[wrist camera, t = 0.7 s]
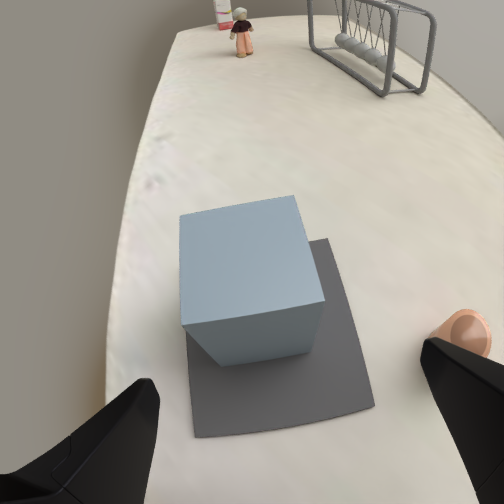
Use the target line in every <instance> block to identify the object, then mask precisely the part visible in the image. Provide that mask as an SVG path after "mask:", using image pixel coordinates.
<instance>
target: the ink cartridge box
mask: <svg viewBox="0 0 504 504" xmlns="http://www.w3.org/2000/svg"><path fill="white" fill-rule="evenodd" d="M213 1H214V7H215V13H216V19H217V25H218V27H219V29H220V30H224V29H231V28H233V26H234V25H233V19H232V12H231V6H230V0H213Z"/></svg>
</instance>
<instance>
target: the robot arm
mask: <svg viewBox="0 0 504 504" xmlns="http://www.w3.org/2000/svg"><path fill="white" fill-rule="evenodd" d="M420 362H421V366H422V368H423V371H424V373H425V376H426V379H427V381H428V384H429V387H430V389H431V392H432V395H433V397H434V400H435V402H436V404H437V406H438V408H439V410H440V412H441V414H442V416H443V418H444V420H445V422H446V425H447V427H448V429H449V431H450V433H451V435H452V437H453V440H454V442H455V444H456V446H457V449H458V451H459V453H460V455H461V458H462V460H463V462H464V465H465V467H466V470H467V472H468V475H469V477H470V480H471V482H472V485H473V487H474V490H475V492H476V496H477V498H478V501H479V504H504V365H502V364H499V363H497V362H495V361H492V360H490V359H487V358H485V357H483V356H480V355H478V354H476V353H473V352H471V351H469V350H466V349H464V348H462V347H459V346H457V345H455V344H452V343H450V342H448V341H445V340H443V339H441V338H438V337H431V338H427V339H426V340H425V341H424V343H423V348H422V353H421V358H420ZM159 408H160V397H159V394H158V392H157V390H156V387H155V385H154V383H153V381H152V380H151V379H150V378H140V379H138V380H137V381H135V382H134V383H133V384H132V385H131V386H129V387H128V388H127V389H126V390H124V391H123V392H122V393H121V394H120V395H118V396H117V397H116V398H115V399H114V400H112V401H111V402H110V403H109V404H107V405H106V406H105V407H104V408H103V409H101V410H100V411H99V412H98V413H96V414H95V415H94V416H93V417H92V418H90V419H89V420H88V421H86V422H85V423H84V424H83V425H81V426H80V427H79V428H78V429H76V430H75V431H74V432H73V433H71V435H70V436H68V437H66V438H65V439H64V440H63V441H61V442H60V443H59V444H57V445H56V446H55V447H53V448H52V449H50V450H49V451H47V452H46V453H45V454H43V455H41V456H40V457H38V458H37V459H35V460H33V461H32V462H30V463H29V464H27V465H26V466H24V467H22V468H20V469H19V470H17V471H15V472H12V473H9V474H0V504H144V498H145V493H146V488H147V483H148V478H149V473H150V468H151V463H152V458H153V453H154V448H155V444H156V438H157V428H158V417H159Z"/></svg>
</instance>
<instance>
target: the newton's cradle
mask: <svg viewBox="0 0 504 504" xmlns="http://www.w3.org/2000/svg"><path fill="white" fill-rule="evenodd" d="M335 1H336V0H335ZM354 1H355V0H354ZM356 1H359V2H361V3H366V6H367V4H369V5H372V7H373V6H375V7H378V8H379V9H380V8H381V9H384V12H385V10H386V11H388V12H389V14H390V17H391V22H390V23H391V24H390V36H389V46H388V55H386V52H385V55H384V56H382V55H381V53H380V52H379V51H378V50H377V49H376V46H375V48H373V46H372V48H371V49H370V47H369V46H368V45H367V44H365V40H364V42H362V41H361V43H360V42H359V41H358V40H357V39H355V38H354V37H355V33H354V37H351V38H350V37H349V36H348V35H347V20H348V23H349V19H348V15H349V12H348V13H347V0H342V30H341V33H340V34H338V35H337V36H336V37H335V43H336V44H337V46H339V47H331V48H318V49H317V48H316V47H315V45H314V35H313V8H312V0H307V6H308V27H309V44H310V47H311V49H312V50H313V51H314V52H316V53H317V54H319V55H321V56H322V57H324V58H326V59H327V60H329V61H330V62H332V63H333V64H335V65H337V66H338V67H340V68H341V69H343V70H344V71H346V72H347V73H349V74H350V75H351V76H353V77H354V78H356V79H357V80H359V81H360V82H361V83H363V84H364V85H366V86H367V87H368V88H370V89H371V90H372V91H374V92H375V93H376V94H378V95H379V96H383V97H384V96H386V95H388V93H392V92H405V91H414V92H415V93H418V94H421V93H423V92H424V91H425V90H426V87H427V82H428V77H429V72H430V66H431V61H432V55H433V49H434V42H435V35H436V28H437V23H436V19H435V17H434V16H433V15H432V14H431V13H430V12H428V11H426V10H423V9H421V8H418V7H415V6H413V5H410V4H407V3H404V2H401V1H398V0H381V1H386V2H389V3H392V4H394V5H398V6H399V8H395V7H393V6H390V5H387V3H381V2H378V1H374V0H356ZM350 3H351V2H350ZM350 5H351V4H350ZM355 6H356V3H355ZM400 6H401V7H404V8H407V9H401V8H400ZM336 7H337V4H336ZM360 8H361V6H360ZM408 9H409V10H408ZM349 10H350V7H349ZM367 10H368V8H367ZM395 10H398V13H399V10H401V11H408V12H414V13H420V14H422V15H425V16H427V17H428V18H429V19H430V23H431V25H430V33H429V40H428V47H427V54H426V60H425V66H424V71H423V77H422V82H421V86H420V88H417V87H416V86H414V85H413V84H411V83H410V82H408V81H407V80H405V79H404V78H402V77H401V76H399V75H398V74H396V73H395V72H393V71H394V70H395V67H396V65H395V62H394V55H395V46H396V36H397V24H398V14H397V13H396V12H395ZM337 11H338V9H337ZM356 12H357V8H356ZM371 12H372V9H371ZM384 12H383V16H384ZM359 13H360V10H359ZM380 16H381V10H380ZM338 17H339V15H338ZM370 17H371V13H370ZM357 18H359V14H357ZM368 19H369V21H370V18H369V14H368ZM382 20H383V17H381V25H382ZM339 22H340V19H339ZM357 23H358V25H359V20H358V19H357ZM381 25H380V29H381ZM368 26H370V22H368ZM340 28H341V24H340ZM356 28H357V24H356ZM349 29H350V25H349ZM367 30H368V27H367ZM359 31H360V26H359ZM382 31H383V25H382ZM355 32H356V29H355ZM379 33H380V30H379ZM366 34H367V31H366ZM350 35H351V31H350ZM370 35H371V28H370ZM378 37H379V34H378ZM360 39H361V33H360ZM365 39H366V35H365ZM383 40H384V33H383ZM377 41H378V38H377ZM371 43H372V36H371ZM376 45H377V42H376ZM338 48H345V49H346V50H347V51H348V52H350V53H354V54H355V55H356V56H357V57H358V58H360V59H365V61H366V62H367V63H368V64H370V65H375V66H377V67H378V69H379V70H380V71H381V72H383V73H386V74H385V82H384V88H383V90H380V89H379V88H378V87H376V86H375V85H373V84H372V83H371V82H369V81H368V80H366V79H365V78H363V77H362V76H361V75H359V74H358V73H356V72H355V71H353V70H352V69H350V68H349V67H347V66H345V65H344V64H342V63H341V62H339V61H338V60H336V59H334V58H333V57H331V56H329V55H328V54H326V53H324V52H323V51H321V50H324V49H338ZM384 50H385V42H384ZM392 77H394V78H395V79H397V80H398V81H400V82H401V83H403V84H404V85H406V86H407V87H408V88H410V89H406V90H391V91H390V85H391V79H392Z"/></svg>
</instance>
